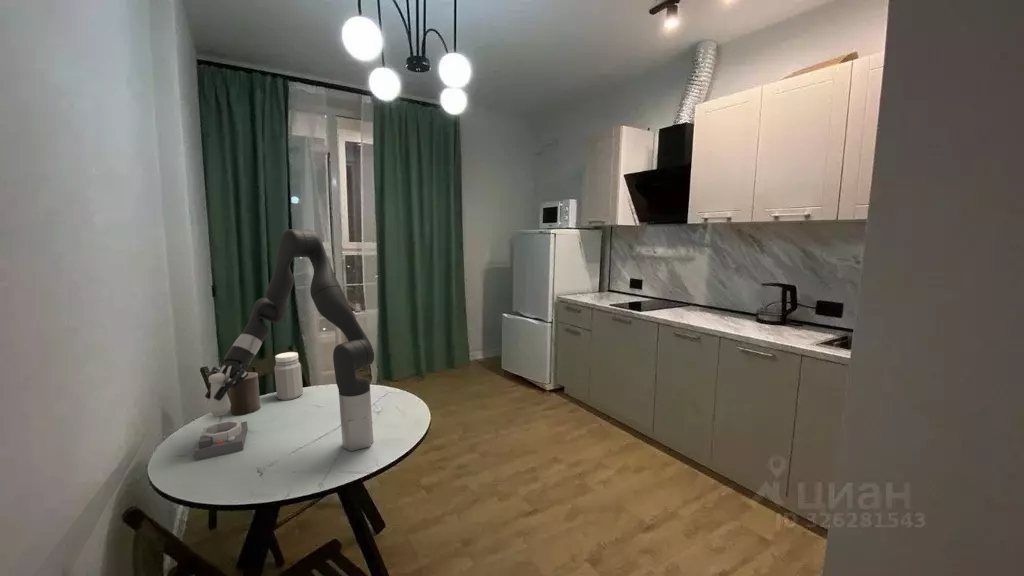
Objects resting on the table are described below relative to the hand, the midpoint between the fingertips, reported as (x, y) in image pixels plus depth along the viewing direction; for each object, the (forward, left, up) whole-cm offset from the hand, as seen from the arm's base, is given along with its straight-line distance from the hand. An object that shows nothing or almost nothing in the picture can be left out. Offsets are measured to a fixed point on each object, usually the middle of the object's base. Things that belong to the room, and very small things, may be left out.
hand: (212, 398), depth 127 cm
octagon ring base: (+1, -1, -16) cm, 16 cm away
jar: (+36, -20, -16) cm, 45 cm away
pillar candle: (+29, -5, -16) cm, 34 cm away
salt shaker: (+2, -1, -6) cm, 6 cm away
